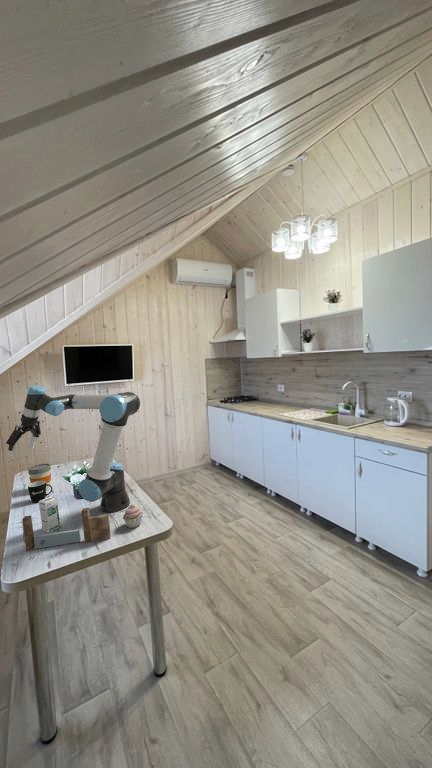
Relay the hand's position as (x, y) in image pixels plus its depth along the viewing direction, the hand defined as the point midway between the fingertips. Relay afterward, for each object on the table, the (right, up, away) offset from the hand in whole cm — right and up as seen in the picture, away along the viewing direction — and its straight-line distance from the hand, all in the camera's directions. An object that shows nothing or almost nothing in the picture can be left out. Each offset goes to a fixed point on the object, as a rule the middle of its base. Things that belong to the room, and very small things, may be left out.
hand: (21, 451), depth 167 cm
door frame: (+40, -33, -31) cm, 60 cm away
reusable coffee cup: (-7, -32, +33) cm, 47 cm away
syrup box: (+25, -33, -17) cm, 45 cm away
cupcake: (+65, -31, -19) cm, 74 cm away
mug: (+1, -32, +18) cm, 37 cm away
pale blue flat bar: (+36, -33, -32) cm, 58 cm away
